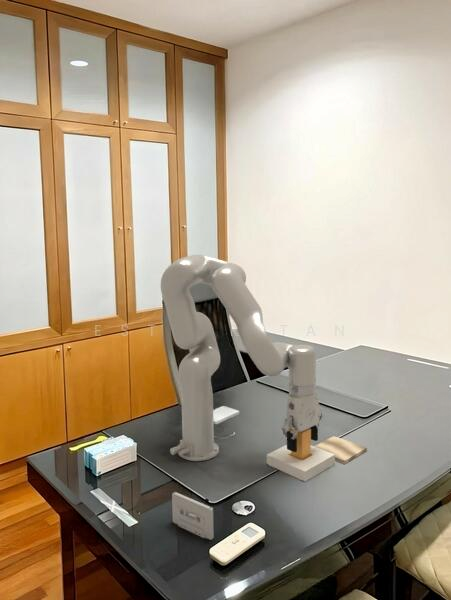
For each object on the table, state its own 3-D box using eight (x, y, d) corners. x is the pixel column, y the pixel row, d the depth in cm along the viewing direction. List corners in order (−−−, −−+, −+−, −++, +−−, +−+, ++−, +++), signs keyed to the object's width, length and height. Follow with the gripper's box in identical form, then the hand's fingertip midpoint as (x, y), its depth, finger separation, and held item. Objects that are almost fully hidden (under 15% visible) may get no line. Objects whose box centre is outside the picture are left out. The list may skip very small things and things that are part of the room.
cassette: (171, 523, 127) (170, 493, 125) (176, 519, 128) (175, 490, 127) (210, 541, 119) (209, 510, 118) (215, 537, 121) (214, 507, 120)
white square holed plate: (305, 481, 145) (305, 471, 144) (266, 464, 155) (266, 454, 154) (334, 464, 154) (335, 454, 154) (296, 448, 164) (296, 439, 164)
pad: (344, 464, 154) (344, 460, 154) (311, 450, 163) (311, 447, 163) (366, 450, 162) (366, 447, 162) (333, 438, 171) (333, 435, 171)
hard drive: (222, 405, 198) (199, 415, 188) (239, 410, 192) (216, 421, 183) (222, 409, 198) (199, 419, 189) (239, 415, 192) (216, 425, 183)
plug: (301, 469, 152) (302, 432, 150) (290, 464, 155) (291, 428, 153) (310, 464, 154) (311, 428, 152) (299, 459, 157) (300, 424, 155)
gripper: (293, 399, 142) (293, 459, 145) (331, 383, 154) (330, 439, 156) (272, 393, 147) (273, 450, 150) (310, 378, 159) (310, 432, 162)
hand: (302, 444), depth 153 cm, fingers open, 9 cm apart
